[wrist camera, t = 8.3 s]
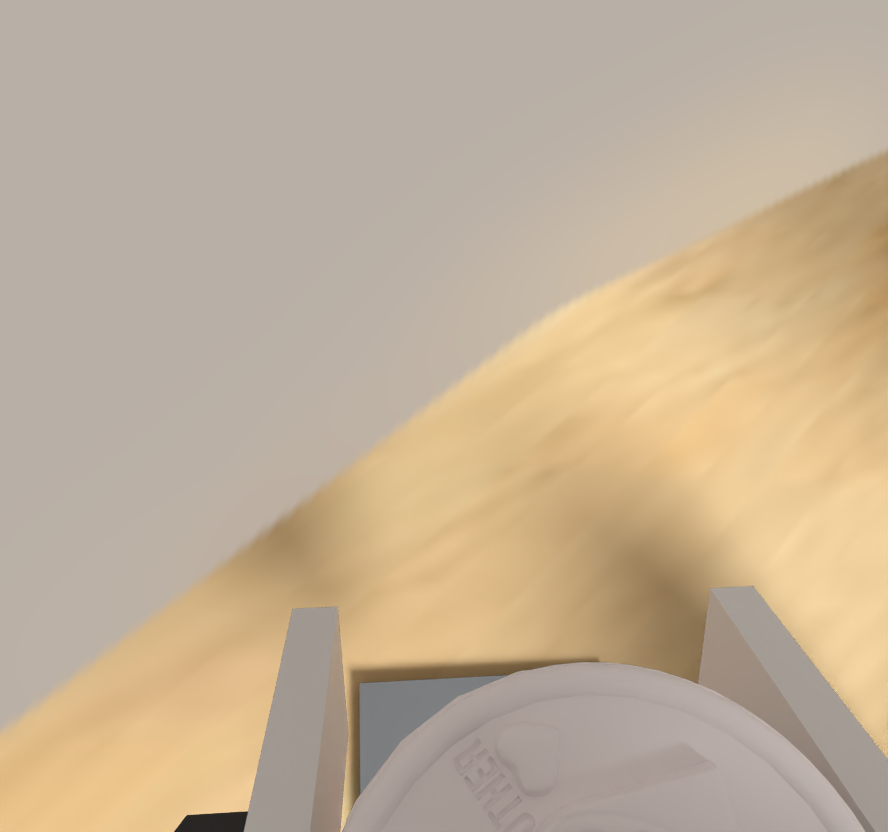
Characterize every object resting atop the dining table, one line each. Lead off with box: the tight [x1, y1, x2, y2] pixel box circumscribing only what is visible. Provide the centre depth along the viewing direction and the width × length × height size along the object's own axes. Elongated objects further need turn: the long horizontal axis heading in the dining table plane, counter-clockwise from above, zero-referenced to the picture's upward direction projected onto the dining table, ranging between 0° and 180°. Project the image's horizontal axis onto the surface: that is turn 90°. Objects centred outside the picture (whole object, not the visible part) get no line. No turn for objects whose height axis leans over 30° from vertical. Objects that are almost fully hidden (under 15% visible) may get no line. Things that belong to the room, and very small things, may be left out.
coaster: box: [359, 675, 508, 795], centre depth 25 cm, size 9×9×1 cm
